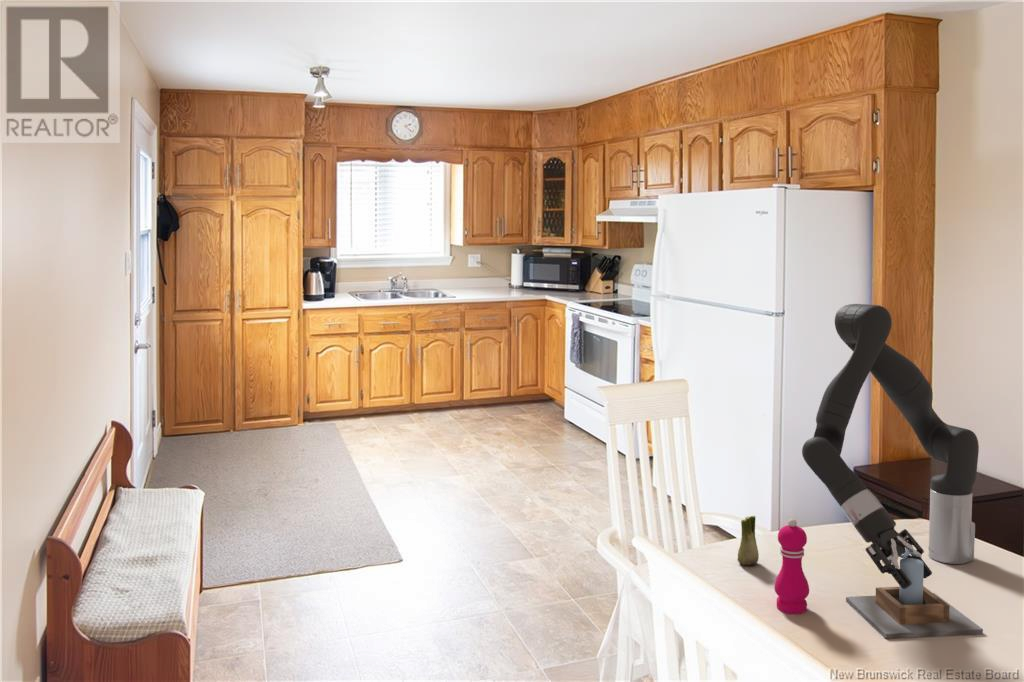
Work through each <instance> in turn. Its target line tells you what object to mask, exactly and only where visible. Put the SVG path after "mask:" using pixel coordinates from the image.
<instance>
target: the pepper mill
mask: <svg viewBox="0 0 1024 682" xmlns="http://www.w3.org/2000/svg"><path fill="white" fill-rule="evenodd" d="M787 523H788V525H784V526H783V527H781V528H779V531H778V533H777V541H778V543H779V544H780V545H781V546H780V547H779V549H780V551H779V553H780V555H781V556H782V557H781V559H782V561H781V562H782V564H781V568H780V571H779V573H777V574H778V575H777V576H776V579H775V581H774V592H775V594H776V595H777V597H776V608H777V609H778V610H779V611H781V612H783V613H786V614H791V615H793V614H795V615H796V614H797V615H798V614H803V613H805V612H807V610H808V608H807V607H808V602H807V599H806V598H808V596H809V594H810V585H809V582H808V579H807V577H806V575H805V573H804V571H803V570H804V569H803V565H802V564H803V563H802V560H803V557H804V556H805V548H804V547H805V546H806V545H807V542H808V536H807V533H806V531H805V530H804V529H803V528H802V527H800V526H798V525H797V524H798V523H797V520H796V519H794V518H790V519H789V520H788V522H787Z"/></svg>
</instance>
